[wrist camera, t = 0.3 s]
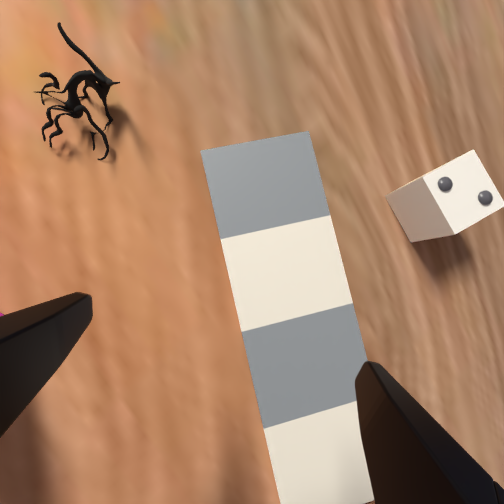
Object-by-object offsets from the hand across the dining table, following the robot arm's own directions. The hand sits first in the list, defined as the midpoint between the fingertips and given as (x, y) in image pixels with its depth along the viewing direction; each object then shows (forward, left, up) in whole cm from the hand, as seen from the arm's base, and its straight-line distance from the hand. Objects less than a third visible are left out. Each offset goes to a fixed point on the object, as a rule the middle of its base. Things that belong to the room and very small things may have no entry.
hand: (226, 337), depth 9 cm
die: (+4, -20, -15) cm, 25 cm away
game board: (-3, -6, -14) cm, 16 cm away
